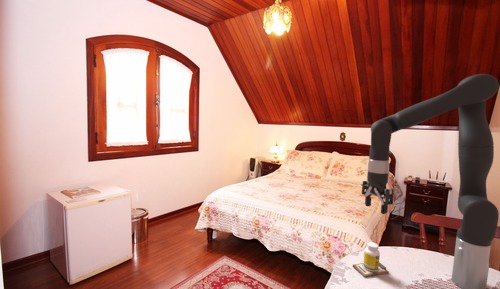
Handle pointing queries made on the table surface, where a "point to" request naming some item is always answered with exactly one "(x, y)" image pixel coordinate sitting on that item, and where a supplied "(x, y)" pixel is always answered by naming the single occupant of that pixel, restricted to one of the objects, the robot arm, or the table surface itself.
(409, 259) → the table surface
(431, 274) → the table surface
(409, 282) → the table surface
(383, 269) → the beige flat piece
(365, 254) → the supplement bottle
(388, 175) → the robot arm
